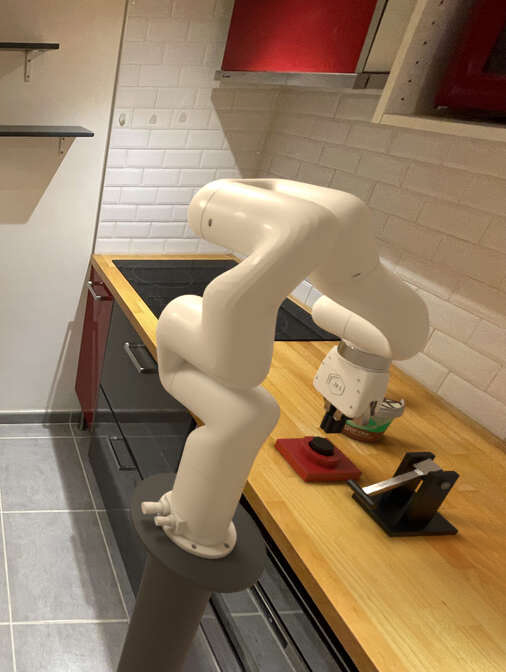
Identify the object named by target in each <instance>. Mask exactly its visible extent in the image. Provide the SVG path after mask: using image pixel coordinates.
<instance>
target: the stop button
mask: <svg viewBox="0 0 506 672" xmlns="http://www.w3.org/2000/svg"><path fill="white" fill-rule="evenodd" d="M325 438H326V437H322V436H320V435H319V436H317V435H316V436H315V437H313V438H312V441H311V443H310V448H311V449H312V450H313V451H315V452H316V453H318V454H320V455H323V456H331V454H332V452H333V450H334V445H335V444H334V442H332V441H331V440H330V439H329V440H330V441H331V442H330V441H329V440H327V439H325ZM333 444H334V445H333Z"/></svg>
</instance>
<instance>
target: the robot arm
mask: <svg viewBox="0 0 506 672" xmlns="http://www.w3.org/2000/svg"><path fill="white" fill-rule="evenodd" d="M186 215H187V222H188V227H190V229H191V231H192V233H193V234H194V235H195V236H197V238H200V239H201V240H203V241H206V242H208V243H211V244H213V245H216V246H219V247H221V248H223V249H226V250H228V251H231V252H233V253H236V254H238V255H241V256H244V257H246V258H245V259H244V260H243V261H241V262H240V263H239V264H237V265H235V266H234V267H233V268H231V269H229V270H227V271H225V272H223V273H221V274H220V275H218V276H216V277H215V278H214V279H213V280H211V281H210V283H208V284H207V286H206V287H205V289H204V292H203V294H202V296H199V295H196V294H184V295H180V296H178V297H175V298H174V299H173V300H171V301H170V302H169V303H168V304H167V305H166V306H165V307H164V309H163V310H162V312H161V314H160V316H159V317H158V320H157V324H156V326H155V327H156V328H155V345H156V356H157V357H156V358H157V367H158V375H159V381H160V383H161V385H162V387H163V388H164V390H165V391H166V392H167V393H168V394H170V396H171V397H173V399H175V400H176V401H178V402H179V403H180V404H182V406H184V407H185V408H187V409H188V410H189V411H190V412H191V413H192V414H193V415H194V416H196V417H197V418H198V419H200V420H201V422H203V423H204V425H202V426H199V427H197V428H195V429H194V430H192V431H191V432H190V433H189V434H188V436H187V438H186V441H185V444H184V447H183V451H182V455H181V459H180V461H179V466H178V469H177V472H176V473H177V476H176V479H175V483H174V486H173V490H172V491H169V492H167V493H166V494H164V495H163V496H162V498H161V499H160V500H159V501H158V502H142V504H141V507H142V511H143V513H144V514H155V513H157V514H158V517H155V518H154V520H155V524H156V525H157V526H161V527H162V528H163V530H164V531H165V533H166V534H167V536H168V537H169V538H170V539H171V540H172V541H173V542H174V543H176V544H177V545H178V546H179V547H181V548H182V549H184V550H185V551H187V552H189V553H191V554H193V555H196V556H199V557H202V558H208V559H218V558H222V557H225V556H226V555H228V554H229V553H230V552H231V551H232V550H233V548H234V546H235V543H236V539H237V538H236V530H235V526H234V524H233V522H232V518H233V516H234V513H235V510H236V508H237V505H238V503H239V502H240V500H241V497H242V494H243V492H244V489H245V486H246V484H247V480H248V479H249V475H250V473H251V470H252V467H253V466H254V463H255V460H256V458H257V457H258V454H259V452H260V450H261V449H262V447H263V445H264V444H265V443H266V441H267V439H268V438H269V437H270V435H271V434H272V433H273V431H274V430H275V429H276V427H277V425H278V423H279V421H280V417H281V407H280V405H279V403H278V401H277V399H276V398H275V396H274V395H273V394H272V393H271V392H270V391H269V390H268V389H266V388H265V387H264V386H263V385H262V384H263V382H264V381H265V380H266V379H267V377H268V375H269V374H270V370H271V366H272V363H273V362H272V361H273V355H274V345H275V336H276V325H277V317H278V312H279V309H280V307H281V306H282V303H284V301H285V300H286V299H287V298H288V297H289V295H291V294H292V293H293V292H294V291H295V290H296V288H298V287H299V286H300V285H301V284H302V283H303V282H304V281H306V279H307V280H308V282H309V283H310V284H311V285H312V287H313V288H314V289H316V291H318V292H319V293H321V294H322V296H320V297H319V298H318V299H317V300H316V301H315V303H314V304H313V306H312V308H311V318H312V321H313V322H314V323H315V325H316V326H318V327H319V328H321V329H322V330H324V331H326V332H328V333H330V334H332V335H334V336H336V337H338V338H340V341H339V343H338V345H334V346H333V347H332V348H331V349H330V350H329V352H328V353H327V354H326V355H325V357H324V359H323V360H322V362H321V363H320V365H319V368H318V369H317V372H316V374H315V375H314V378H313V381H312V385H313V387H314V389H315V390H316V391H317V392H318V393H319V394H320V395H321V396H322V397H323V400H324V405H323V409H324V411H325V412H324V415H323V417H322V420H321V421H320V425H319V428H320V429H321V430H322V431H323V432H324V433H325V434H327V435H330V434H331V435H332V434H341V432H342V430H343V428H344V426H345V424H346V422H347V420H351V421H352V422H354V423H355V424H357V425H359V426H368V424H369V419H370V417H374V416H375V415H376V414H377V412H378V411H379V409H380V407H381V404H382V402H383V399H384V398H385V397H386V393H387V390H388V388H389V387H388V386H389V383H390V377H391V371H390V370H389V369H390V367H391V365H392V363H393V361H395V362H400V361H401V362H403V361H407V360H410V359H412V358H414V357H416V356H417V355H418V354H419V353H420V352H421V351H422V350H423V349H424V347H425V346H426V345H427V341H428V340H429V335H430V330H431V329H430V328H431V327H430V323H431V322H430V314H429V308H428V305H427V304H426V301H425V300H424V299H423V298H422V296H421V295H420V294H419V293H418V292H417V291H416V290H415V289H414V288H412V286H410V285H409V284H408V283H407V282H406V281H404V280H403V278H401V277H400V276H398V275H397V273H395V272H394V271H393V270H392V269H390V268H389V267H388V266H387V265H385V264H384V263H383V262H382V261H381V260H380V259H381V258H380V253H379V249H378V245H377V239H376V234H375V228H374V223H373V219H372V215H371V211H370V209H369V207H368V205H367V204H366V203H365V201H363V200H362V199H361V198H359V197H358V196H356V195H354V194H352V193H350V192H346V191H343V190H339V189H335V188H331V187H326V186H322V185H321V186H320V185H316V184H311V183H306V182H301V181H297V180H291V179H286V178H285V179H284V178H222V179H217V180H214V181H211V182H208V183H207V184H205V185H204V186H203V187H201V188H200V189H198V191H197V192H196V193H195V194H194V196H193V197H192V199H191V201H190V202H189V205H188V208H187V214H186Z"/></svg>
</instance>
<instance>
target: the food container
mask: <svg viewBox="0 0 506 672" xmlns="http://www.w3.org/2000/svg"><path fill="white" fill-rule="evenodd" d="M405 408H406V406H405V400H404V398H401V400H400V401H398V400H393V399H389V398H385V397H384V399H383V402H382V404H381V407H380V409H379V411H378V412H377V414H376V415H375V416H374V417H370V419H369V424H368V426H359V425H357V424H355V423H354V422H352V421H351V420H347V422H346V424H345V426H344V428H343V430H342V432H341V433H340V434H341V435H343V436H345V437H347V438H349V439H352V440H355V441H357V442H360V443H367V444H374V443H377V442H378V441H379V440H380V439H381V438H382V436H384V434H385V432H386V431H387V429H388V428H389V427H390V425H391V424H392V423H393V421H394V420H395V419H397V418H400V417H402V416H403V415H404V412H405Z"/></svg>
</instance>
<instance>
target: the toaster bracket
mask: <svg viewBox="0 0 506 672" xmlns="http://www.w3.org/2000/svg"><path fill="white" fill-rule="evenodd" d="M436 457H437V456H436V455H435V454H434V453H433V452H432V451H406V453H405V454H404V456H403V458H402V459H401V461H400V463H399V465H398V466H397V468H396V470H395V472H394V474H393V475H392V477H391V478H394V477H397V476H400V475H403V474H406V473H408V472H411V471H414V469H413V464H416V463H419V462H422V461H425V460H427V459H431V460H432V461H433V462H434V460H435V459H436ZM460 477H461V475H460V474H459V472H457V471H455V470H443V471H429V472H428V474H427V476H426V477H425V479H424V481H422V480H421V479H420V480H417V481H414V482H411V483H408V484H405V485H402V486H399V487H396V488H393V489H391V490H388V491H385V492H382V493H379V494H376V495H373V496H370V497H371V498H372V499H373V500H374V501H375V502H376V503H377V504H378V507H377V508H376V509H374V510H371V509H370V508H369V507H368V506H367V505H366V504H365V503H364V502H363V501H362V500H361V499H360V498H359V497H358V496H357V495H356V494H355V493H354V492H353V493H352V495H351V498H352V499H353V501H354V502H356V503H357V504H358V506H359V507H360V508H361V509H362V510H363V511H364V512H365V513H366V514H367V515H368V517H369V518H370V519H371V520H372V521H373V522H374V523H375V524H376V525H377V526H378V527H379V528H380V529H381V530H382V531H383V533H384V534H385V535H386V536H387V537H388V538H411V537H413V538H416V537H444V536H456V535H457V534H458V532H459V531H460V530H459V529H458V528H457V527H455V526H454V525H453V524H452V523H451V522H450V521H449V520H448V519H447V518H445V516H443V515H442V514H441V513H440V512H439V511H438V510H439V509H440V507H441V506H442V504H443V503H444V501H445V500H446V498H447V496H448V495H449V493H450V492H451V490H452V488H453V487H454V486H455V484H456V482H457V481H458V480H459V478H460Z"/></svg>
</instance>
